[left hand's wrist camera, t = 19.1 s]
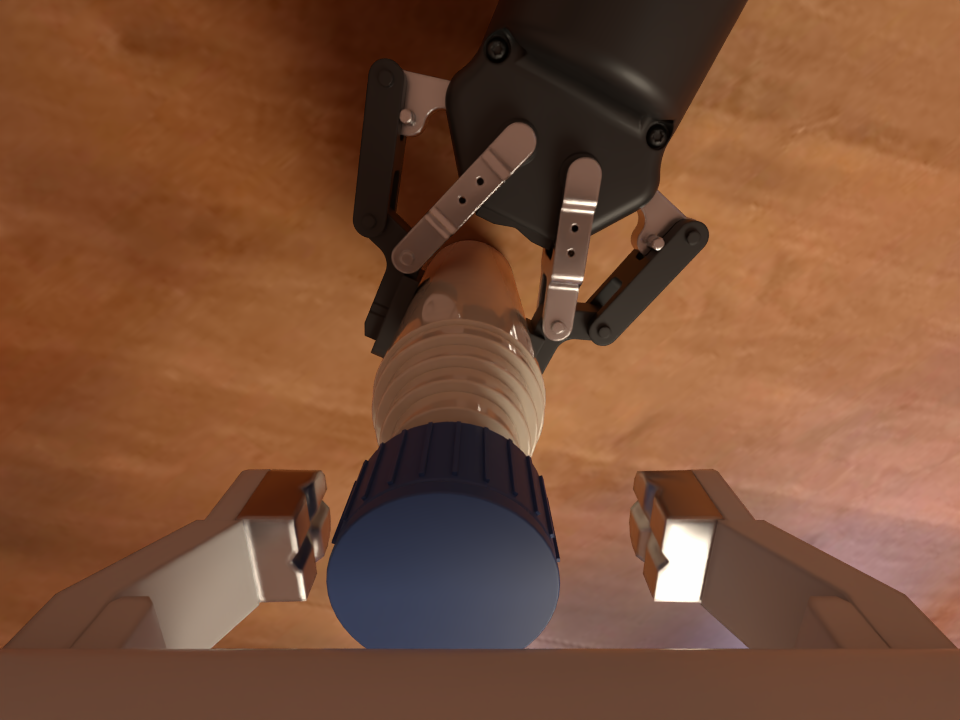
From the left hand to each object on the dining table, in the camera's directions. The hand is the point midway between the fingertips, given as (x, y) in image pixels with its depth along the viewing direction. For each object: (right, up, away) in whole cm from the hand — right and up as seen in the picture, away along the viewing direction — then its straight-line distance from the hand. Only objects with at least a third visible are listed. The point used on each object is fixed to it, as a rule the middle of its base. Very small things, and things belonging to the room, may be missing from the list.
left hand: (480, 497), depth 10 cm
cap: (-1, -1, -2) cm, 2 cm away
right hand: (-2, +2, +12) cm, 12 cm away
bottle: (-1, +7, +18) cm, 19 cm away
